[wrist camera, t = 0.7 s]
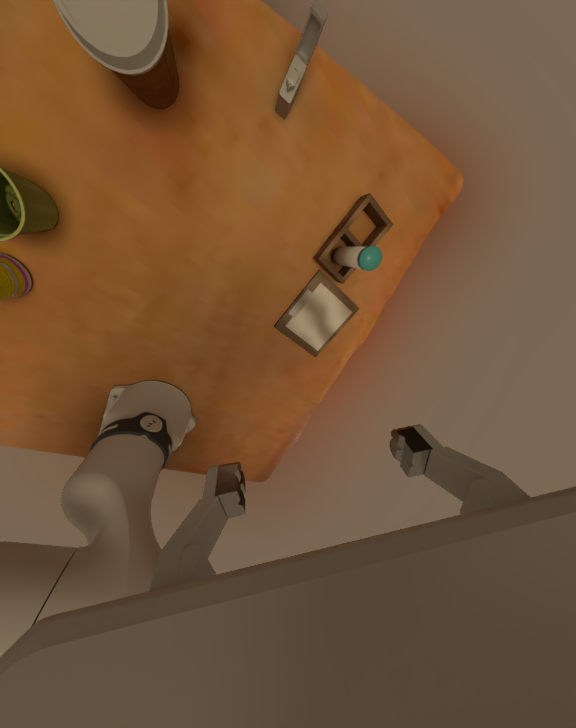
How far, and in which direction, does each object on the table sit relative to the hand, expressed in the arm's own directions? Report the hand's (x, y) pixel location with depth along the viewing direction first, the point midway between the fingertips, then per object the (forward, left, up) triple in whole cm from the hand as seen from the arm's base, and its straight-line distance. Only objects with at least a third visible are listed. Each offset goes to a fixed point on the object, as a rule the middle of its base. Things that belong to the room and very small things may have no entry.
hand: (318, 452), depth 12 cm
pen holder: (+18, -6, -38) cm, 42 cm away
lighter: (+26, +15, -38) cm, 48 cm away
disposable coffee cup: (+14, +29, -38) cm, 50 cm away
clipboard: (+4, -11, -38) cm, 39 cm away
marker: (+15, -6, -38) cm, 41 cm away
